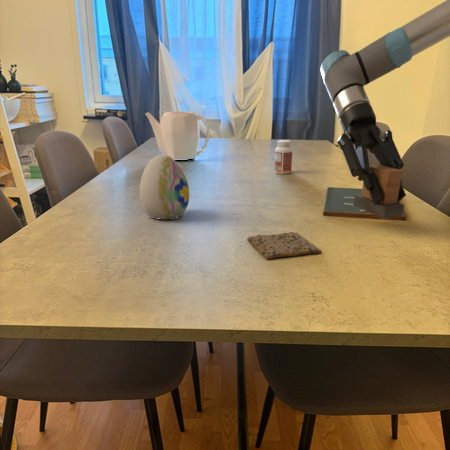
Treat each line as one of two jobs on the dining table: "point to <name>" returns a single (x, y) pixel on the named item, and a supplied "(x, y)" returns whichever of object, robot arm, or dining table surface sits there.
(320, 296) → the dining table surface
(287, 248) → the cookie
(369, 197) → the eraser
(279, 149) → the pill bottle
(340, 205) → the chalkboard
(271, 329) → the dining table surface
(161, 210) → the decorative egg
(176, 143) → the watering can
